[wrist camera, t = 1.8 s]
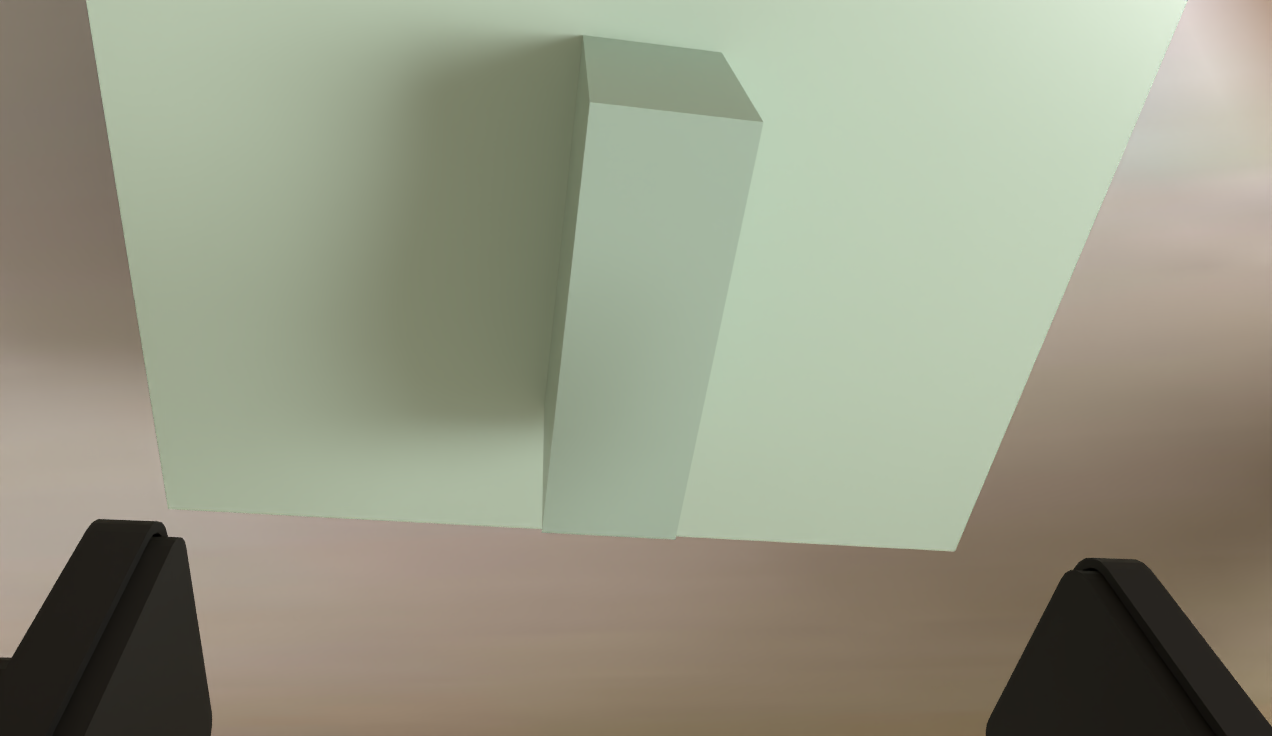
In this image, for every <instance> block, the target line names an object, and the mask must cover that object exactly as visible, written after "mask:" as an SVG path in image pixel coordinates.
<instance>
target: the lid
mask: <svg viewBox="0 0 1272 736" xmlns="http://www.w3.org/2000/svg"><path fill="white" fill-rule="evenodd" d="M1187 1H1188V0H86V4H87V10H88V16H89V22H90V28H91V35H92V41H93V47H94V53H95V59H96V66H97V72H98V78H99V84H100V90H101V97H102V103H103V109H104V115H105V121H106V127H107V134H108V140H109V146H110V152H111V158H112V165H113V171H114V177H115V183H116V189H117V196H118V202H119V208H120V214H121V220H122V226H123V233H124V239H125V245H126V251H127V257H128V264H129V270H130V276H131V282H132V288H133V295H134V301H135V307H136V313H137V319H138V325H139V332H140V338H141V344H142V350H143V356H144V363H145V369H146V375H147V381H148V387H149V394H150V400H151V406H152V412H153V418H154V424H155V431H156V437H157V443H158V449H159V455H160V462H161V468H162V474H163V480H164V486H165V493H166V499H167V505H168V509H177V510H195V511H214V512H233V513H251V514H270V515H288V516H307V517H325V518H344V519H362V520H381V521H399V522H418V523H436V524H455V525H474V526H492V527H511V528H529V529H542V533H560V534H579V535H597V536H616V537H635V538H654V539H672V540H675V539H676V536H678V537H696V538H715V539H733V540H752V541H770V542H789V543H807V544H826V545H844V546H863V547H881V548H900V549H919V550H937V551H955V550H956V548H957V545H958V543H959V541H960V538H961V536H962V533H963V531H964V529H965V526H966V524H967V522H968V519H969V517H970V515H971V512H972V510H973V507H974V505H975V503H976V500H977V498H978V496H979V493H980V491H981V488H982V486H983V484H984V481H985V479H986V477H987V474H988V472H989V470H990V467H991V465H992V462H993V460H994V458H995V455H996V453H997V451H998V448H999V446H1000V444H1001V441H1002V439H1003V436H1004V434H1005V432H1006V429H1007V427H1008V425H1009V422H1010V420H1011V418H1012V415H1013V413H1014V410H1015V408H1016V406H1017V403H1018V401H1019V399H1020V396H1021V394H1022V391H1023V389H1024V387H1025V384H1026V382H1027V380H1028V377H1029V375H1030V373H1031V370H1032V368H1033V365H1034V363H1035V361H1036V358H1037V356H1038V354H1039V351H1040V349H1041V347H1042V344H1043V342H1044V339H1045V337H1046V335H1047V332H1048V330H1049V328H1050V325H1051V323H1052V321H1053V318H1054V316H1055V313H1056V311H1057V309H1058V306H1059V304H1060V302H1061V299H1062V297H1063V294H1064V292H1065V290H1066V287H1067V285H1068V283H1069V280H1070V278H1071V276H1072V273H1073V271H1074V268H1075V266H1076V264H1077V261H1078V259H1079V257H1080V254H1081V252H1082V250H1083V247H1084V245H1085V242H1086V240H1087V238H1088V235H1089V233H1090V231H1091V228H1092V226H1093V224H1094V221H1095V219H1096V216H1097V214H1098V212H1099V209H1100V207H1101V205H1102V202H1103V200H1104V197H1105V195H1106V193H1107V190H1108V188H1109V186H1110V183H1111V181H1112V179H1113V176H1114V174H1115V171H1116V169H1117V167H1118V164H1119V162H1120V160H1121V157H1122V155H1123V153H1124V150H1125V148H1126V145H1127V143H1128V141H1129V138H1130V136H1131V134H1132V131H1133V129H1134V127H1135V124H1136V122H1137V119H1138V117H1139V115H1140V112H1141V110H1142V108H1143V105H1144V103H1145V100H1146V98H1147V96H1148V93H1149V91H1150V89H1151V86H1152V84H1153V82H1154V79H1155V77H1156V74H1157V72H1158V70H1159V67H1160V65H1161V63H1162V60H1163V58H1164V56H1165V53H1166V51H1167V48H1168V46H1169V44H1170V41H1171V39H1172V37H1173V34H1174V32H1175V30H1176V27H1177V25H1178V22H1179V20H1180V18H1181V15H1182V13H1183V11H1184V8H1185V6H1186V3H1187Z"/></svg>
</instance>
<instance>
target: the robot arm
mask: <svg viewBox="0 0 1272 736" xmlns="http://www.w3.org/2000/svg"><path fill="white" fill-rule="evenodd" d="M211 728H212V711H211V705H210V698H209V692H208V685H207V679H206V672H205V666H204V659H203V653H202V646H201V640H200V633H199V627H198V620H197V614H196V607H195V601H194V594H193V588H192V581H191V575H190V569H189V562H188V556H187V549H186V545H185V541H184V540H183V538H179V537H168V535H167V532H166V528H165V526H164V525H163V523H162V522H157V521H131V520H106V519H98V520H96V521H94V522H93V523H92V524H91V525H90V526H89V528H88V529H87V530H86V532H85V533H84V535H83V537H82V539H81V540H80V542H79V544H78V545H77V547H76V549H75V551H74V552H73V554H72V556H71V557H70V559H69V561H68V562H67V564H66V566H65V568H64V569H63V571H62V573H61V574H60V576H59V578H58V580H57V581H56V583H55V585H54V586H53V588H52V590H51V592H50V593H49V595H48V597H47V598H46V600H45V602H44V604H43V605H42V607H41V609H40V610H39V612H38V614H37V615H36V617H35V619H34V621H33V622H32V624H31V626H30V627H29V629H28V631H27V633H26V634H25V636H24V638H23V639H22V641H21V643H20V645H19V646H18V648H17V650H16V651H15V653H14V655H13V657H12V658H0V736H211ZM986 736H1272V727H1271V725H1270V724H1269V723H1268V721H1267V720H1266V719H1265V717H1264V716H1263V715H1262V714H1261V712H1260V711H1259V710H1258V708H1257V707H1256V706H1255V704H1254V703H1253V702H1252V701H1251V699H1250V698H1249V697H1248V695H1247V694H1246V693H1245V691H1244V690H1243V689H1242V688H1241V686H1240V685H1239V684H1238V682H1237V681H1236V680H1235V679H1234V677H1233V676H1232V675H1231V673H1230V672H1229V671H1228V669H1227V668H1226V667H1225V666H1224V664H1223V663H1222V662H1221V660H1220V659H1219V658H1218V656H1217V655H1216V654H1215V653H1214V651H1213V650H1212V649H1211V647H1210V646H1209V645H1208V643H1207V642H1206V641H1205V640H1204V638H1203V637H1202V636H1201V634H1200V633H1199V632H1198V630H1197V629H1196V628H1195V627H1194V625H1193V624H1192V623H1191V621H1190V620H1189V619H1188V617H1187V616H1186V615H1185V614H1184V612H1183V611H1182V610H1181V608H1180V607H1179V606H1178V604H1177V603H1176V602H1175V601H1174V599H1173V598H1172V597H1171V595H1170V594H1169V593H1168V591H1167V590H1166V589H1165V588H1164V586H1163V585H1162V584H1161V582H1160V581H1159V580H1158V579H1157V577H1156V576H1155V575H1154V573H1153V572H1152V571H1151V570H1150V569H1149V568H1148V567H1147V566H1146V565H1145V564H1144V563H1142V562H1140V561H1138V560H1133V559H1107V558H1085V559H1083V560H1082V561H1080V562H1079V563H1078V564H1077V565H1076V567H1075V568H1074V570H1070V571H1068V572H1067V573H1065V574H1064V576H1063V577H1062V578H1061V580H1060V582H1059V584H1058V586H1057V588H1056V590H1055V592H1054V594H1053V596H1052V598H1051V600H1050V602H1049V604H1048V606H1047V607H1046V609H1045V611H1044V613H1043V615H1042V617H1041V619H1040V621H1039V623H1038V625H1037V627H1036V629H1035V631H1034V633H1033V635H1032V637H1031V638H1030V640H1029V642H1028V644H1027V646H1026V648H1025V650H1024V652H1023V654H1022V656H1021V658H1020V660H1019V662H1018V664H1017V666H1016V668H1015V669H1014V671H1013V673H1012V675H1011V677H1010V679H1009V681H1008V683H1007V685H1006V687H1005V689H1004V691H1003V693H1002V695H1001V697H1000V699H999V700H998V702H997V704H996V706H995V708H994V710H993V712H992V714H991V716H990V718H989V720H988V723H987V727H986Z"/></svg>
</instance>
